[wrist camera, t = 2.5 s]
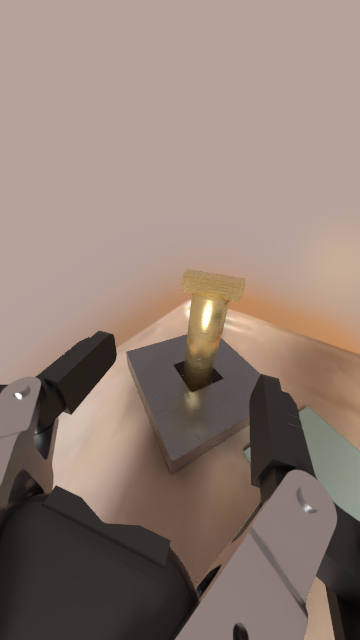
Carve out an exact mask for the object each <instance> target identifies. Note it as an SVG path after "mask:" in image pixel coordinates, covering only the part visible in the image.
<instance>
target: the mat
mask: <svg viewBox="0 0 360 640" xmlns="http://www.w3.org/2000/svg"><path fill="white" fill-rule="evenodd" d="M299 416H300V417H299V419H300V420H301V424H302V429H303V431H304V435H305V439H306V443H307V446H308V450H309V454H310V458H311V461H312V465H313V469H314V472H315V475H316V477H317V480H318V481H319V482H320V483H321V484H322V485H323V487H324V488H325V489H326V490H327V492H328V493H329V495H330V497H331V499H332V500H333V502H335V503H336V504H337V505H338V506H339V507H340V508H342V509H343V510H344V511H346V512H347V513H348V514H350V515H351V516H353V517H354V518H355V519H357V520H358V521H360V451H359V450H358V449H357V448H355V447H354V446H353V445H352V444H351V443H350V442H349V441H347V440H346V439H345V438H344V437H343V436H342V435H340V434H339V433H338V432H337V431H336V430H335V429H334V428H332V427H331V426H330V425H329V424H328V423H327V422H326V421H324V420H323V419H322V418H321V417H320V416H319V415H318V414H316V413H315V412H314V411H313V410H312V409H311V408H309V407H308V406H307V407H306V408H304V409H303V410H301V411H300V412H299ZM243 454H244V456H245V457H246V458H247V460H248V461H249V463H250V464H251V454H250V447H249V448H248V449H246V450H245V451H244V452H243Z"/></svg>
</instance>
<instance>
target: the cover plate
mask: <svg viewBox="0 0 360 640" xmlns="http://www.w3.org/2000/svg"><path fill="white" fill-rule="evenodd" d="M187 336H188V334H187V335H184V336H180V337H177V338H173V339H170V340H166V341H163V342H159V343H156V344H152V345H149V346H145V347H142V348H138V349H135V350H131V351H128V352H126V354H127V362H128V367H129V369H130V372H131V374H132V377H133V380H134V382H135V385H136V387H137V390H138V392H139V395H140V397H141V400H142V402H143V405H144V407H145V410H146V413H147V415H148V418H149V420H150V423H151V425H152V428H153V430H154V433H155V435H156V438H157V440H158V443H159V446H160V448H161V451H162V453H163V456H164V458H165V461H166V463H167V466H168V468H169V471H170V474H172V473H173V472H175V471H177V470H178V469H180V468H181V467H183V466H184V465H186V464H188V463H189V462H191V461H192V460H194V459H196V458H197V457H199V456H200V455H202V454H203V453H205V452H207V451H208V450H210V449H211V448H213V447H214V446H216V445H218V444H219V443H221V442H222V441H224V440H226V439H227V438H229V437H230V436H232V435H233V434H235V433H237V432H238V431H240V430H241V429H243V428H245V427H246V426H248V425H249V424H250V415H249V402H250V397H251V393H252V391H253V389H254V387H255V385H256V382H257V380H258V378H259V376H260V375H261V374H260V373H259V372H257V371H256V370H255V369H254V368H253V367H252V366H251V365H250V364H249V363H248V362H247V361H245V360H244V359H243V358H242V357H241V356H240V355H239V354H238V353H237V352H236V351H235V350H233V349H232V348H231V347H230V346H229V345H228V344H227V343H226V342H225V341H224V340H223V339H221V338H220V343H219V347H218V351H217V355H216V359H215V363H214V368H213V372H212V376H211V380H210V381H211V382H212V383H213V384H211V385H208V386H206V387H204V388H202V389H200V390H197V391H195V392H193V393H191V391H190V390H189V388H188V387H187V385H186V384H185V382H184V381H183V379H182V378H181V376H180V375H182V374H183V372H184V363H185V354H186V345H187Z"/></svg>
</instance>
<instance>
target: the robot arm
mask: <svg viewBox="0 0 360 640" xmlns="http://www.w3.org/2000/svg"><path fill="white" fill-rule="evenodd" d="M116 356H117V353H116V346H115V339H114V335H113V334H110V333H106V332H103V331H98V332H97V333H95V334H94V335H93V336H92V337H91V338H89V337H88V338H86V339H84V340H82V341H80V342H78V343H77V344H76V345H75V346H73V347H72V348H71V350H69V351H67V352H66V353H65V355H62V356H61V357H60V358H59V359H57V360H56V361H55V362H54V363H52V364H51V365H50V366H49V367H47V368H46V369H45V370H44V371H42V373H40V374H39V375H38V376H36V377H25V378H21V379H19V380H16V381H14V382H12V383H11V384H9V385H0V640H303V638H304V635H305V631H306V627H307V621H308V612H307V609H306V599H307V595H308V593H309V590H310V588H311V585H312V583H313V580H314V578H315V576H317V577H318V578H319V579H320V580H321V581H322V582H323V583H324V584H325V586H326V591H327V597H328V603H329V608H330V614H331V620H332V625H333V631H334V636H335V640H360V521H358V520H357V519H355V518H354V517H353V516H351V515H350V514H348V513H347V512H346V511H344V510H343V509H342V508H340V507H339V506H338V505H337V504H336V503H335V502H333V500H332V499H331V497H330V495H329V493H328V492H327V490H326V489H325V488H324V487H323V485H322V484H321V483H320V482H319V481H318V480H317V477H316V475H315V472H314V469H313V465H312V461H311V458H310V454H309V450H308V446H307V443H306V439H305V435H304V431H303V429H302V424H301V420H300V419H299V417H300V416H299V412H298V409H297V405H296V403H295V402H294V400H293V399H292V397H291V396H290V394H289V393H286V392H282V391H281V386H280V381H279V379H278V378H274V377H270V376H267V375H263V374H261V375H260V376H259V378H258V380H257V382H256V385H255V387H254V389H253V391H252V393H251V397H250V402H249V415H250V454H251V485H253V486H256V487H258V488H260V493H261V500H260V501H259V503H258V504H257V506H256V507H255V508H254V510H253V511H252V512H251V514H250V515H249V516H248V518H247V519H246V521H245V522H244V523H243V525H242V526H241V527H240V529H239V530H238V532H237V533H236V534H235V536H234V537H233V538H232V540H231V541H230V542H229V544H228V545H227V546H226V547H225V549H224V550H223V551H222V552H221V553H220V555H219V556H218V557H217V558H216V560H215V561H214V562H213V564H212V565H211V566H210V568H209V569H208V571H207V572H206V573H205V575H204V576H203V577H202V579H201V580H200V581H199V583H198V584H197V586H196V587H195V588H194V585H193V583H192V581H191V579H190V576H189V574H188V572H187V570H186V569H185V567H184V565H183V563H182V562H181V560H180V559H179V558H178V556H177V555H176V554H175V553H174V552H173V551H172V549H171V548H170V547H169V546H170V540H168V539H166V538H164V537H162V536H160V535H158V534H156V533H154V532H152V531H150V530H147V529H145V528H143V527H141V526H138V525H121V524H106V523H104V522H102V521H101V520H100V519H99V517H98V516H97V515H96V514H95V513H94V512H93V510H92V509H91V508H90V507H89V506H88V505H87V504H86V502H85V501H84V500H83V499H82V498H81V497H79V496H77V495H75V494H73V493H71V492H69V491H67V490H65V489H62V488H60V487H58V486H55V488H54V489H53V469H52V458H53V452H54V446H55V440H56V434H57V428H58V422H59V418H58V416H59V415H60V414H61V413H62V412H65V413H68V414H72V413H73V412H74V411H75V410H76V408H77V407H78V406H79V405H80V404H81V402H82V401H83V400H84V399H85V398H86V396H87V395H88V394H89V393H90V392H91V390H92V389H93V388H94V387H95V386H96V384H97V383H98V382H99V381H100V380H101V378H102V377H103V376H104V375H105V374H106V372H107V371H108V370H109V369H110V368H111V366H112V365H113V364H114V362H115V360H116ZM52 489H53V490H52Z"/></svg>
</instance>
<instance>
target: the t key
mask: <svg viewBox="0 0 360 640" xmlns="http://www.w3.org/2000/svg"><path fill="white" fill-rule="evenodd" d="M244 287H245V279H244V278H238V277H231V276H225V275H219V274H213V273H207V272H201V271H194V270H187V271H186V272H185V273H184V274H183V283H182V291H184V292H189V293H192V301H191V309H190V318H189V327H188V336H187V345H186V354H185V363H184V372H183V381H184V382H185V384H186V385H187V387H188V388H189V390H190V391H191V393H193V392H195V391H197V390H200V389H202V388H204V387H206V386H208V385H209V384H210V380H211V376H212V372H213V368H214V363H215V359H216V355H217V351H218V347H219V343H220V338H221V334H222V330H223V326H224V322H225V318H226V313H227V309H228V305H229V301H230V300H231V301H237V302H240V301H241V298H242V294H243V290H244Z"/></svg>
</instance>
